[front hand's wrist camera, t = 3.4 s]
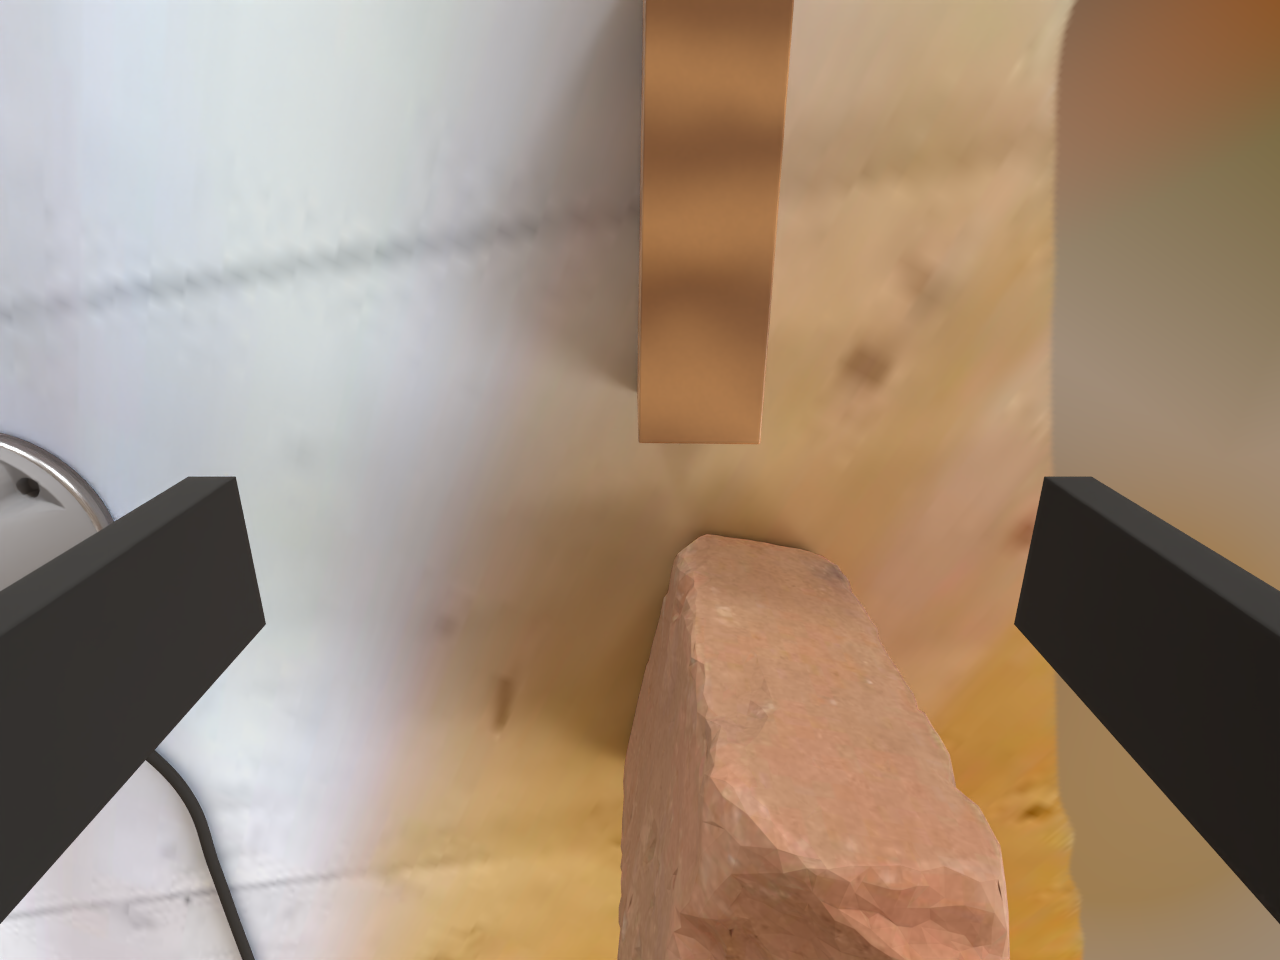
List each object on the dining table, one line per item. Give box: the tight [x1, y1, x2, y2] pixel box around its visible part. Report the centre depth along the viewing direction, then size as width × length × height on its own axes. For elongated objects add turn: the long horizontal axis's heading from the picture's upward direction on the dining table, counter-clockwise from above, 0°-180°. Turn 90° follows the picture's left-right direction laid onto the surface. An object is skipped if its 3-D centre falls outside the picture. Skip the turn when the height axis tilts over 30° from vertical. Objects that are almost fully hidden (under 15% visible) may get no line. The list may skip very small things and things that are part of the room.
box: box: [637, 0, 794, 444], centre depth 37 cm, size 23×6×10 cm, turn 179°
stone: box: [617, 534, 1010, 960], centre depth 40 cm, size 22×11×28 cm, turn 169°
